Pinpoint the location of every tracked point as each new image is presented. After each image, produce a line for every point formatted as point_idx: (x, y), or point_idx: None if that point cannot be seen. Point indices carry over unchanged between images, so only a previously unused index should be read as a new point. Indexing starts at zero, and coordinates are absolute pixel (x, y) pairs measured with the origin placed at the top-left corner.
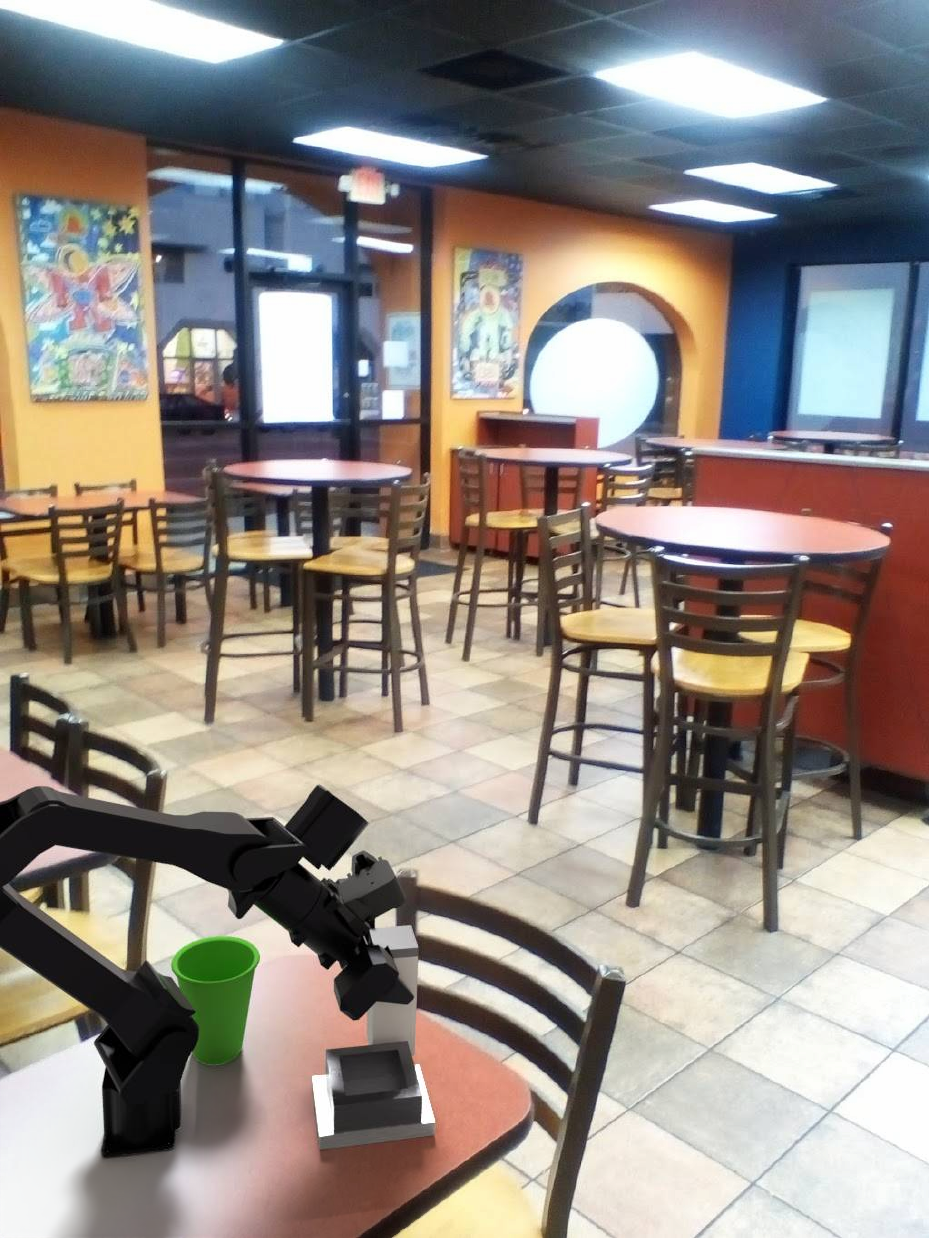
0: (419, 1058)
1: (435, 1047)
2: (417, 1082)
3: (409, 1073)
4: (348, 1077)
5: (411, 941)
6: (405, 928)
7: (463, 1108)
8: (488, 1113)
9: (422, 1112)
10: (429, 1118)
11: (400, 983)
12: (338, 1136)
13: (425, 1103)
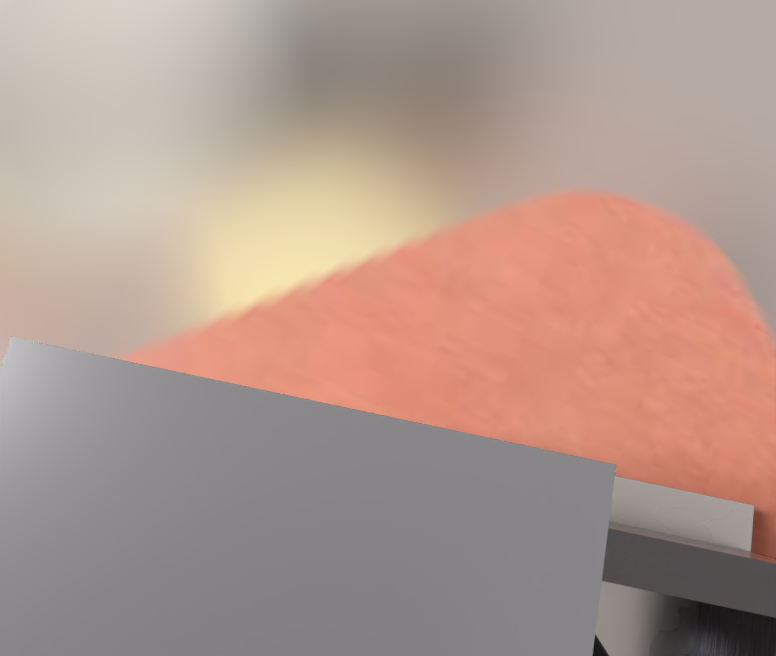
0: (372, 405)
1: (340, 334)
2: (753, 565)
3: (689, 575)
4: None
5: (430, 498)
6: (56, 446)
7: (637, 370)
8: (678, 311)
9: (701, 528)
10: (736, 517)
11: (605, 651)
12: None
13: (661, 500)
